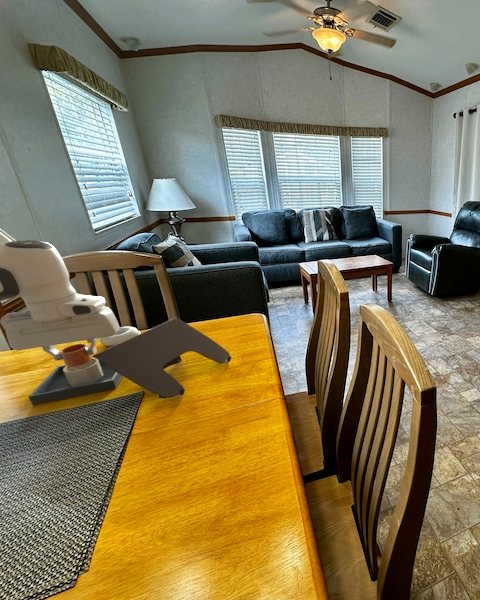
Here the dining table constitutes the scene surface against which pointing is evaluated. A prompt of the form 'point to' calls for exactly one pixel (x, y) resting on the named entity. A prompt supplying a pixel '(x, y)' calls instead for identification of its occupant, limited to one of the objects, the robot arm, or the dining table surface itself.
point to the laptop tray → (160, 356)
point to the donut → (120, 336)
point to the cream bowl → (84, 373)
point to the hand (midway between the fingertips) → (77, 356)
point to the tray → (60, 389)
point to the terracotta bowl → (75, 355)
